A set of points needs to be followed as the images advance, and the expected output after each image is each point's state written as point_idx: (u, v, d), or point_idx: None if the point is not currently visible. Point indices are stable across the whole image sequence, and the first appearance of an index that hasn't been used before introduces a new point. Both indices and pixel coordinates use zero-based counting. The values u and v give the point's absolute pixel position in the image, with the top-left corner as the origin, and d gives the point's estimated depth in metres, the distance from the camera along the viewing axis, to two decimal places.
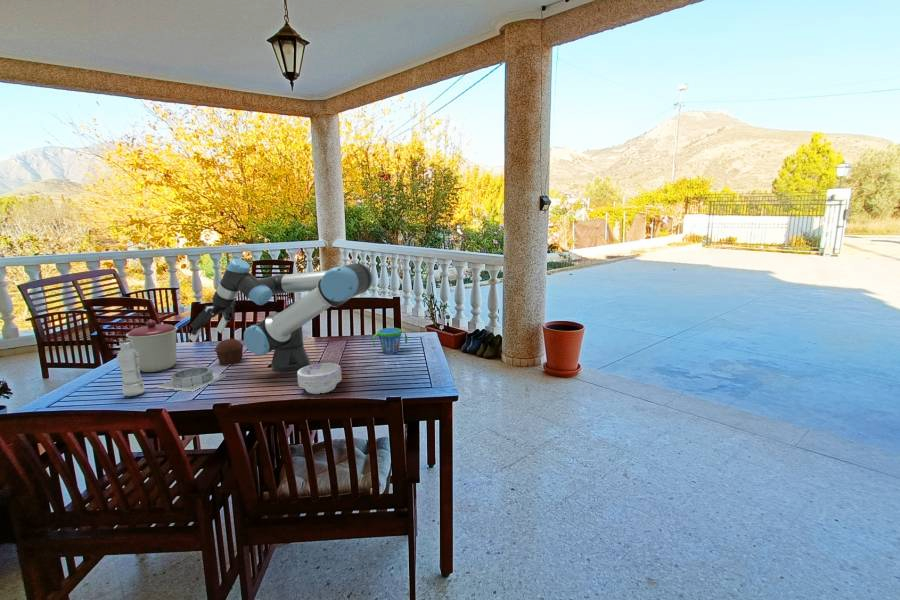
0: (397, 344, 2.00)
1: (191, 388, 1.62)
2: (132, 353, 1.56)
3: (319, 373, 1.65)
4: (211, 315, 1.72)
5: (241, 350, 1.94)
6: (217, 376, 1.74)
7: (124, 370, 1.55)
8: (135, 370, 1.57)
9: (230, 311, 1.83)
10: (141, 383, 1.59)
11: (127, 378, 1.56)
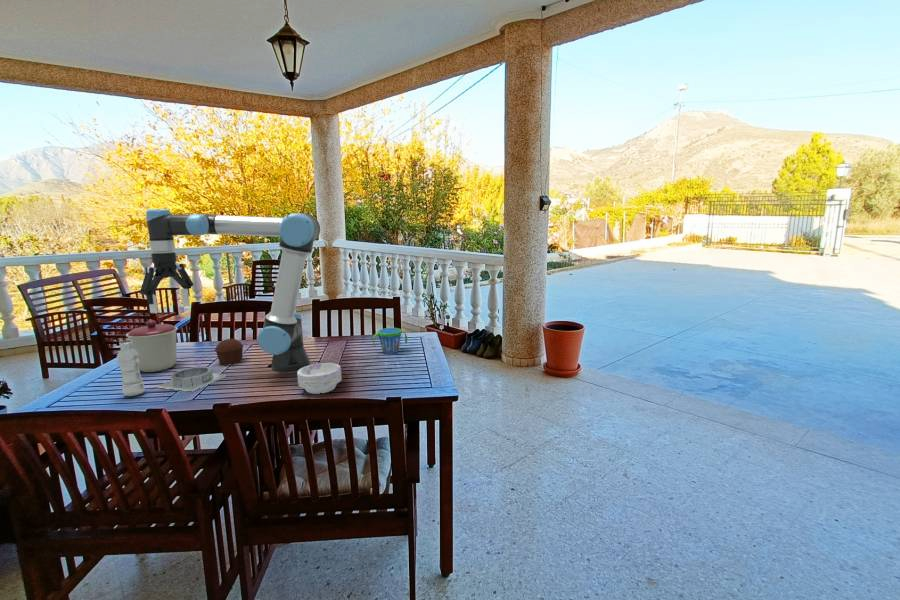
0: (397, 344, 2.00)
1: (191, 388, 1.62)
2: (132, 353, 1.56)
3: (319, 373, 1.65)
4: (158, 277, 1.59)
5: (241, 350, 1.94)
6: (217, 376, 1.74)
7: (124, 370, 1.55)
8: (135, 370, 1.57)
9: (184, 277, 1.70)
10: (141, 383, 1.59)
11: (127, 378, 1.56)
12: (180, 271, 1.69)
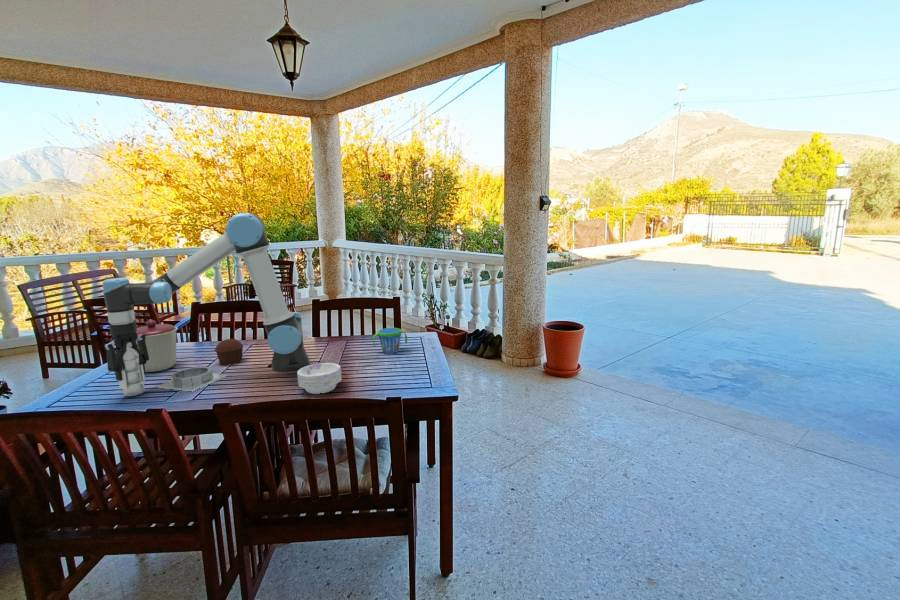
0: (397, 344, 2.00)
1: (191, 388, 1.62)
2: (132, 353, 1.56)
3: (319, 373, 1.65)
4: (121, 351, 1.53)
5: (241, 350, 1.94)
6: (217, 376, 1.74)
7: (124, 370, 1.55)
8: (135, 370, 1.57)
9: (142, 349, 1.62)
10: (141, 383, 1.59)
11: (127, 378, 1.56)
12: (139, 342, 1.61)
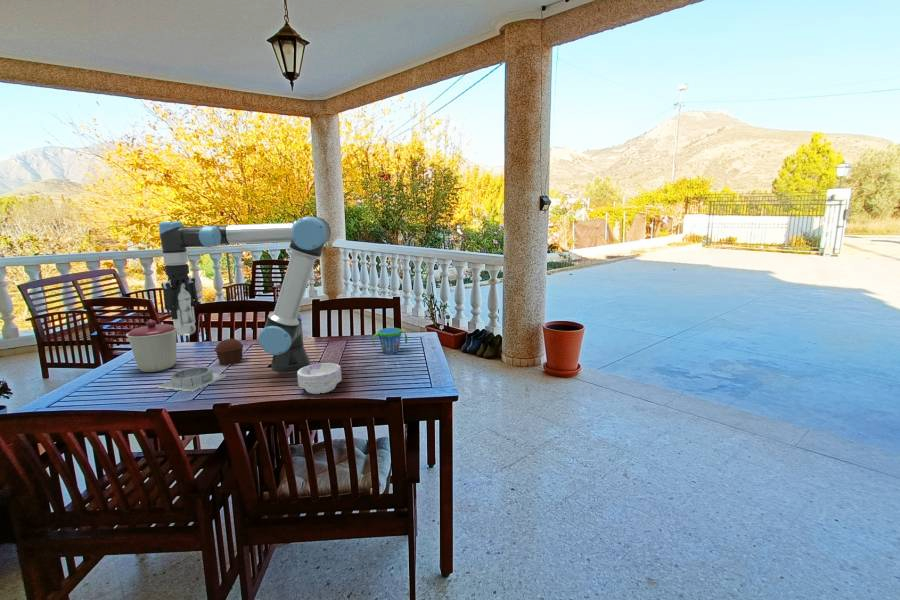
0: (397, 344, 2.00)
1: (191, 388, 1.62)
2: (185, 293, 1.64)
3: (319, 373, 1.65)
4: (176, 291, 1.61)
5: (241, 350, 1.94)
6: (217, 376, 1.74)
7: None
8: (188, 311, 1.65)
9: (192, 292, 1.69)
10: (193, 323, 1.67)
11: (181, 318, 1.64)
12: (190, 285, 1.69)
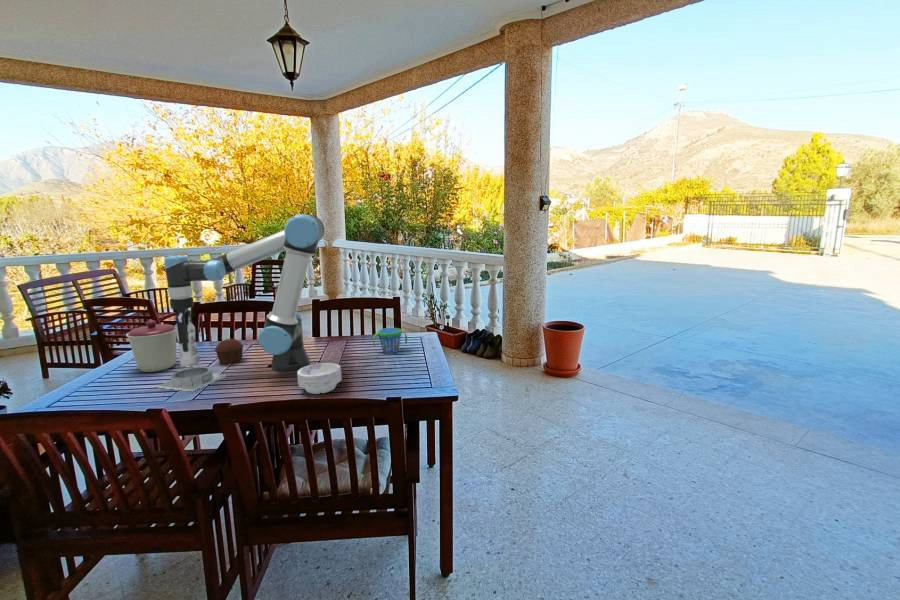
0: (397, 344, 2.00)
1: (191, 388, 1.62)
2: (192, 325, 1.67)
3: (319, 373, 1.65)
4: (186, 324, 1.64)
5: (241, 350, 1.94)
6: (217, 376, 1.74)
7: None
8: (194, 342, 1.69)
9: None
10: (198, 354, 1.71)
11: None
12: None
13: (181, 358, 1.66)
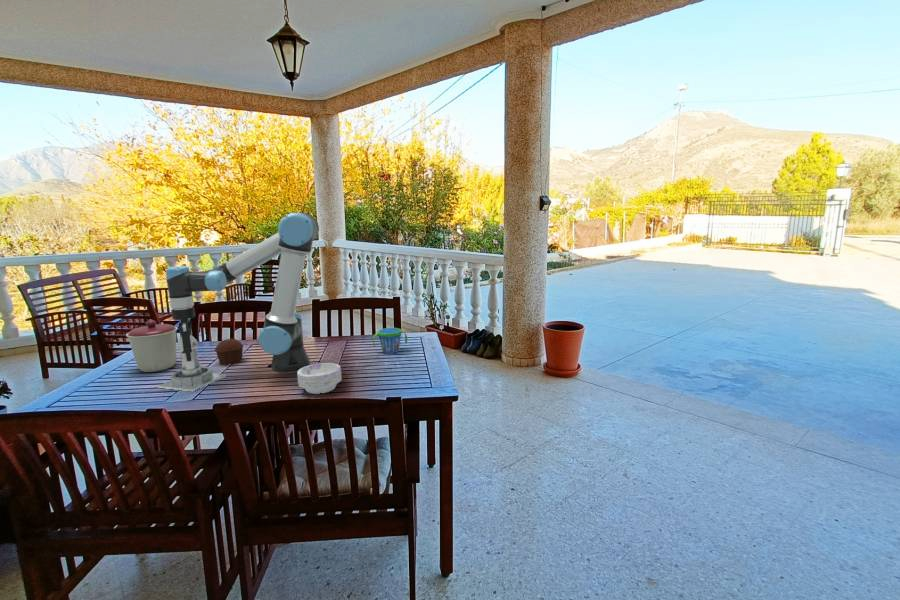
0: (397, 344, 2.00)
1: (191, 388, 1.62)
2: (194, 338, 1.69)
3: (319, 373, 1.65)
4: (188, 333, 1.65)
5: (241, 350, 1.94)
6: (217, 376, 1.74)
7: None
8: (197, 354, 1.70)
9: None
10: None
11: None
12: None
13: (184, 372, 1.67)
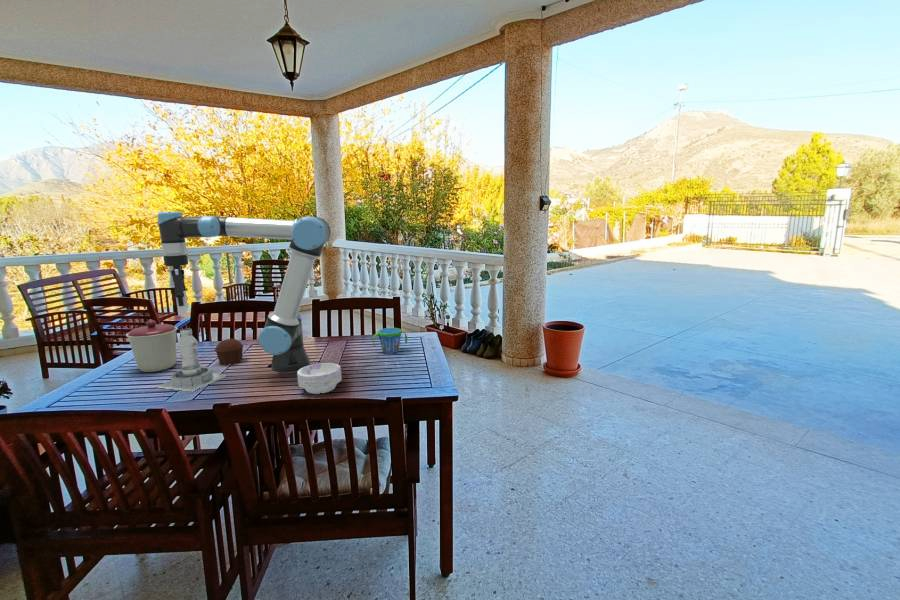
0: (397, 344, 2.00)
1: (191, 388, 1.62)
2: (194, 338, 1.69)
3: (319, 373, 1.65)
4: None
5: (241, 350, 1.94)
6: (217, 376, 1.74)
7: (190, 356, 1.67)
8: (197, 355, 1.70)
9: None
10: None
11: (193, 363, 1.68)
12: None
13: (184, 372, 1.67)
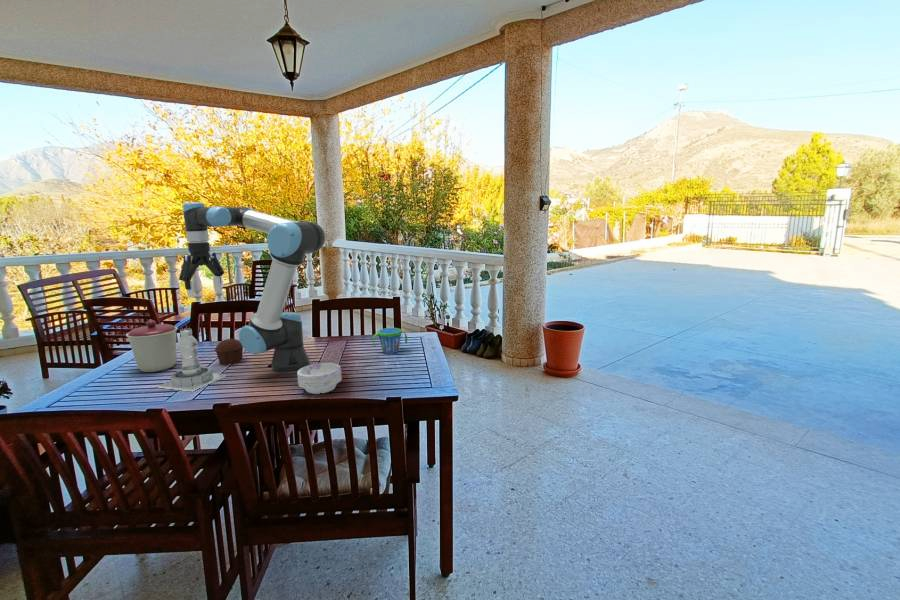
0: (397, 344, 2.00)
1: (191, 388, 1.62)
2: (194, 338, 1.69)
3: (319, 373, 1.65)
4: (195, 265, 1.74)
5: (241, 350, 1.94)
6: (217, 376, 1.74)
7: (190, 356, 1.67)
8: (197, 355, 1.70)
9: (216, 265, 1.85)
10: None
11: (193, 363, 1.68)
12: (212, 260, 1.83)
13: (184, 372, 1.67)
